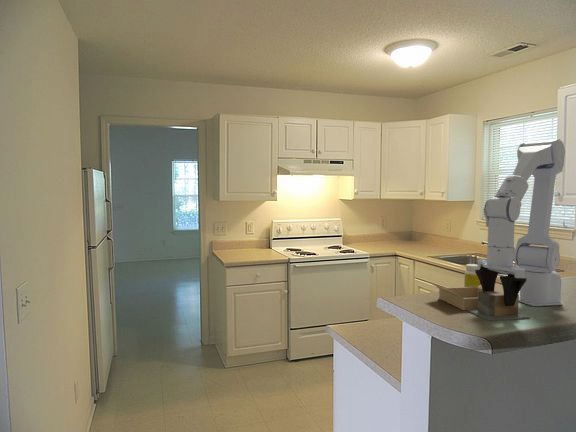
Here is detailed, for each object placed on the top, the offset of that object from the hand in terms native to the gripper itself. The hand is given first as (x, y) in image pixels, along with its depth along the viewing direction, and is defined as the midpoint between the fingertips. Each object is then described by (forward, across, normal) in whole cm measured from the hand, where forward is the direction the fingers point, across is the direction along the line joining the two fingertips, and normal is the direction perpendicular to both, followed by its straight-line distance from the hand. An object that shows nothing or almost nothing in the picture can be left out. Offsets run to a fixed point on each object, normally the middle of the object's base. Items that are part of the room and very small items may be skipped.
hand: (498, 301), depth 101 cm
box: (+3, 0, 0) cm, 3 cm away
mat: (+3, 0, 0) cm, 3 cm away
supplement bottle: (+3, -22, +8) cm, 24 cm away
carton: (+3, -11, 0) cm, 11 cm away
